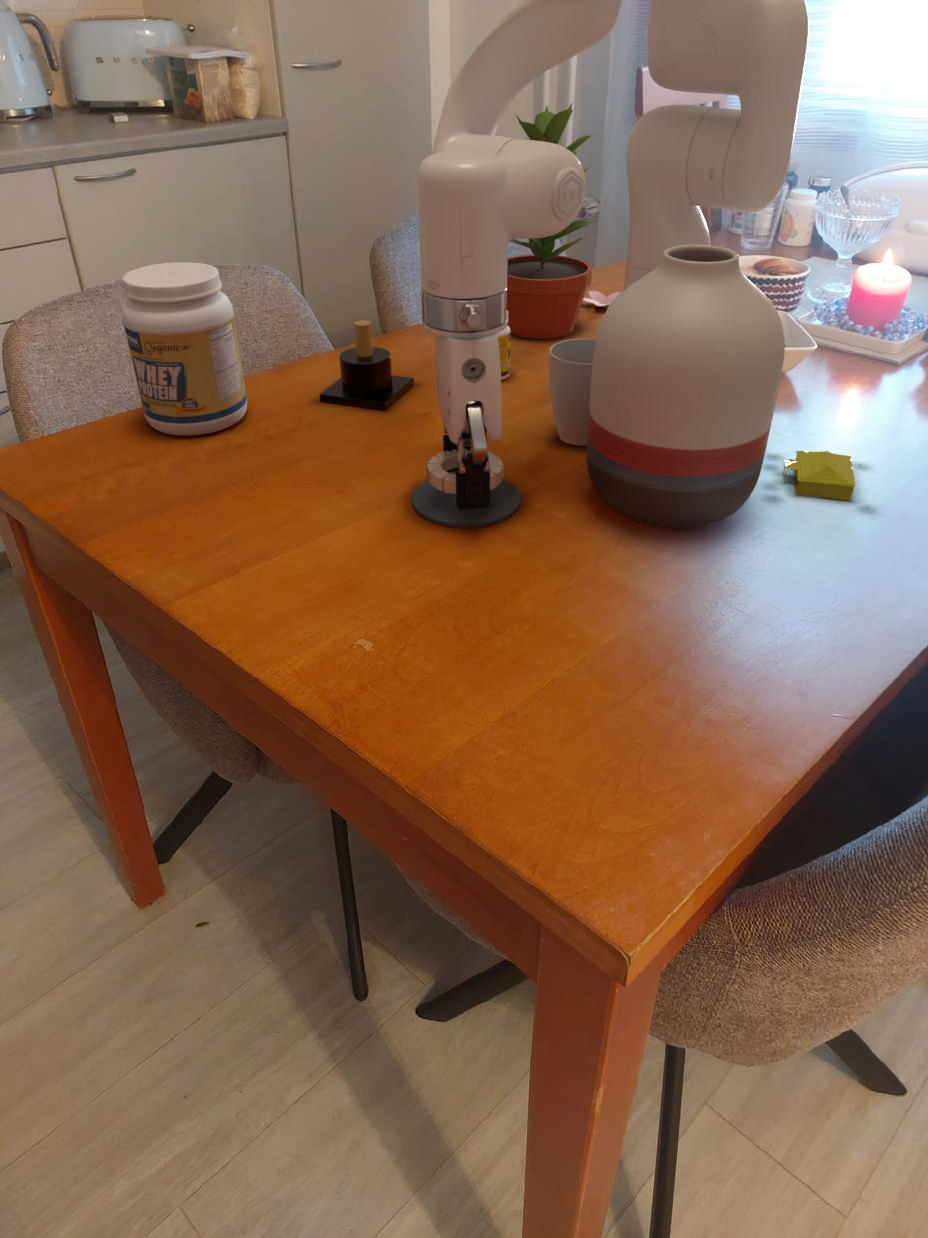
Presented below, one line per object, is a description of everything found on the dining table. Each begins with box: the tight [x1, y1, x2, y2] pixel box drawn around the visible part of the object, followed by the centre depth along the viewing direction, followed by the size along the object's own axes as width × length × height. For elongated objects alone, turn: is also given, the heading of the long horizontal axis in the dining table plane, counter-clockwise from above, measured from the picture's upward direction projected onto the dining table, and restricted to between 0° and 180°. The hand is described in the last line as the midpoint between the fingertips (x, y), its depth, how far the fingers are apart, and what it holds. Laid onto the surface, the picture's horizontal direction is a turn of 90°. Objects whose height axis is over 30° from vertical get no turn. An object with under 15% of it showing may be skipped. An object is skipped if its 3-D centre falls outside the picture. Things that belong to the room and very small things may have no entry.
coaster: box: [411, 472, 522, 529], centre depth 90 cm, size 11×11×1 cm
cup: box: [549, 338, 596, 447], centre depth 100 cm, size 8×8×10 cm
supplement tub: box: [121, 261, 248, 437], centre depth 103 cm, size 12×12×17 cm
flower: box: [583, 289, 623, 307], centre depth 143 cm, size 10×10×2 cm
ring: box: [426, 449, 504, 494], centre depth 88 cm, size 7×7×1 cm
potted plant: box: [506, 102, 599, 340], centre depth 126 cm, size 15×15×30 cm
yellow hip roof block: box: [773, 449, 869, 510], centre depth 92 cm, size 10×9×3 cm
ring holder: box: [319, 319, 415, 411], centre depth 111 cm, size 9×9×9 cm
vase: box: [586, 244, 786, 529], centre depth 83 cm, size 17×17×24 cm
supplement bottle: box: [497, 311, 512, 381], centre depth 116 cm, size 5×5×8 cm
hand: (465, 487), depth 89 cm, fingers closed on ring, 7 cm apart
